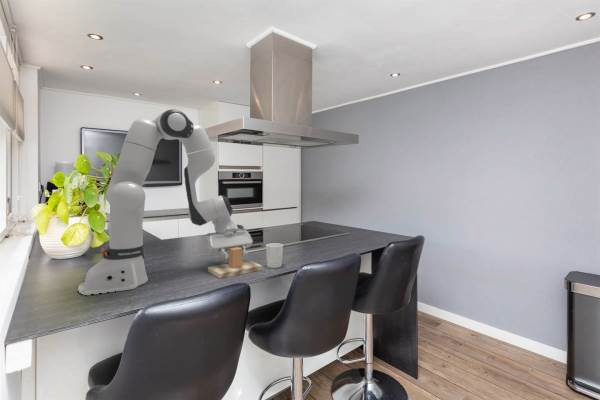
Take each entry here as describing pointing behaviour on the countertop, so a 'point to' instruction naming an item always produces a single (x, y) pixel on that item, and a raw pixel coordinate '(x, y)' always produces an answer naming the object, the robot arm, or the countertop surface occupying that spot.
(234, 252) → the orange brown wooden block
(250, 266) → the post base
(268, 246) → the white cup
